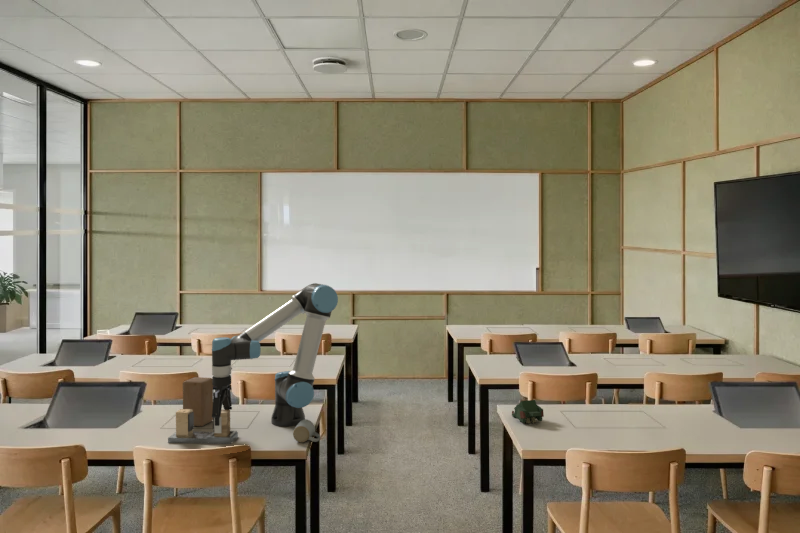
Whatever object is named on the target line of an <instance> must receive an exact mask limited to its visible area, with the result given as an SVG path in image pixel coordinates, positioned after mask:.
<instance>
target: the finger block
mask: <svg viewBox="0 0 800 533" xmlns="http://www.w3.org/2000/svg"><path fill="white" fill-rule="evenodd" d="M220 417H221V427H222V433H214V436H216V437H227V436H228V435H229V434H230V431H231V410H225V409H221V416H220ZM212 432H214V418H213V420H212Z"/></svg>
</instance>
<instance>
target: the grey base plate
mask: <svg viewBox="0 0 800 533" xmlns="http://www.w3.org/2000/svg"><path fill="white" fill-rule="evenodd" d="M194 428H195V426H194V412H193V409H183V408H180V409H179V410H177V411H175V432H174V433H172V434H171V435H170V436H169V437H167V443H168V444H171V443H172V444H176V443H177V444H212V445H213V444H214V445H215V444H218V445H220V444H221V445H231V444H232V443H233V442H234V441H236V439H237V438H238V436H239V432H238V430H230V434H229V435H228V436H227V437H216V436H214V432H213V431H201V430H200V431H199V430H198V431H197V430H196V431H194Z"/></svg>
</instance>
